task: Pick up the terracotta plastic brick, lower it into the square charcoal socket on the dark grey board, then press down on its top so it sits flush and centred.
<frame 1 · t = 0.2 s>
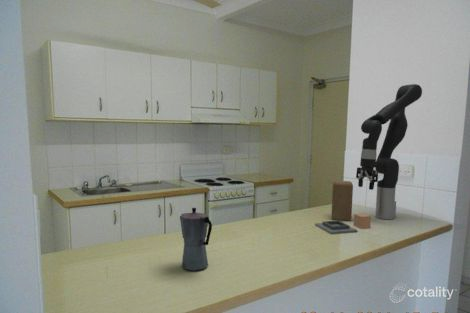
hand: (365, 188, 167), 17 cm above the countertop, tool pointing down, fingers open, 8 cm apart
moka pot: (196, 266, 106), on the countertop
socket board: (335, 228, 152), on the countertop
wooden block: (341, 218, 171), on the countertop
brick: (361, 226, 156), on the countertop
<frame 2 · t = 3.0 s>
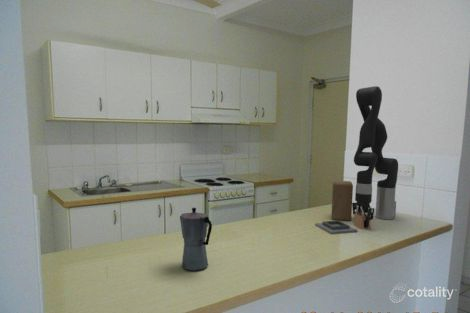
hand: (361, 225, 156), 1 cm above the countertop, tool pointing down, fingers closed on brick, 5 cm apart
brick: (361, 226, 156), on the countertop, touching gripper
everything else where it was.
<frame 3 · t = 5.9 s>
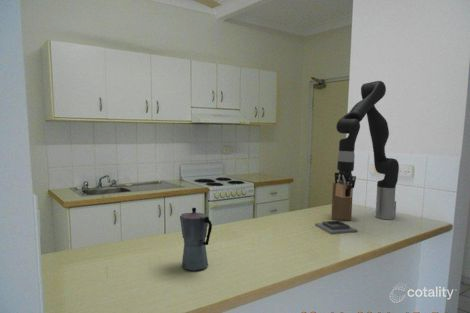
hand: (343, 195, 151), 16 cm above the countertop, tool pointing down, fingers closed on brick, 5 cm apart
brick: (343, 196, 151), point 16 cm above the countertop, touching gripper
everything else where it was.
when the fingers open (4 cm above the countertop, at t = 8.9 s): brick drops 2 cm, resting on socket board.
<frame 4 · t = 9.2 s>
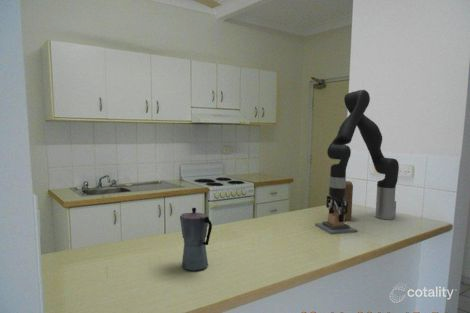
hand: (335, 219, 151), 5 cm above the countertop, tool pointing down, fingers open, 8 cm apart
brick: (335, 226, 151), point 1 cm above the countertop, touching socket board
everything else where it was.
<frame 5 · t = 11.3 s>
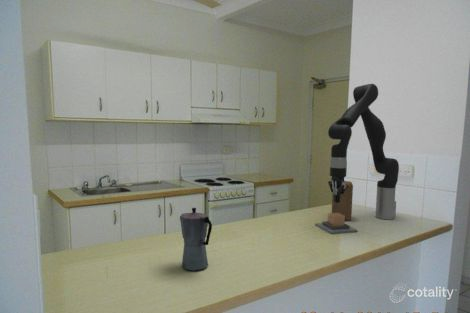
hand: (336, 202, 151), 13 cm above the countertop, tool pointing down, fingers closed
nothing on the countertop moved.
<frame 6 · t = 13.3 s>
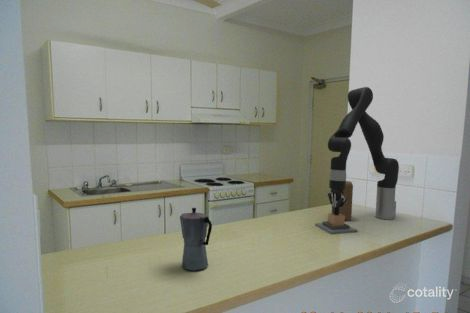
hand: (336, 214, 151), 7 cm above the countertop, tool pointing down, fingers closed
brick: (335, 226, 151), point 1 cm above the countertop, touching gripper, socket board
everything else where it was.
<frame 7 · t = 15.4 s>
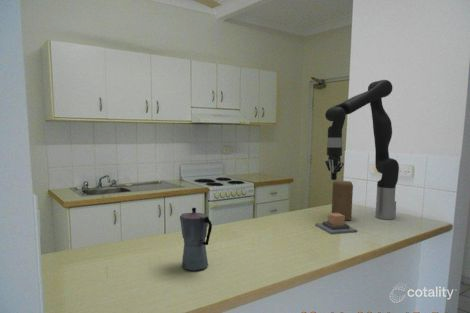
hand: (333, 179, 162), 22 cm above the countertop, tool pointing down, fingers closed
brick: (335, 226, 151), point 1 cm above the countertop, touching socket board
everything else where it was.
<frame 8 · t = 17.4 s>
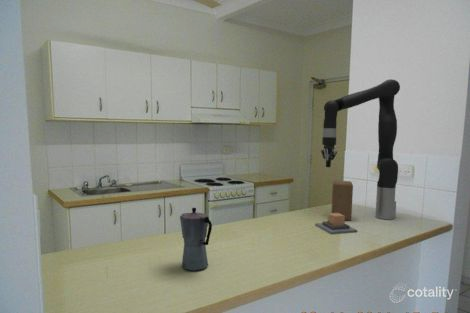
hand: (328, 167, 178), 27 cm above the countertop, tool pointing down, fingers closed
nothing on the countertop moved.
at the end: brick 0.2 cm off-centre on the socket board, point 1.0 cm above the socket board's base; brick tilted 0°; the gripper is holding nothing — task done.
